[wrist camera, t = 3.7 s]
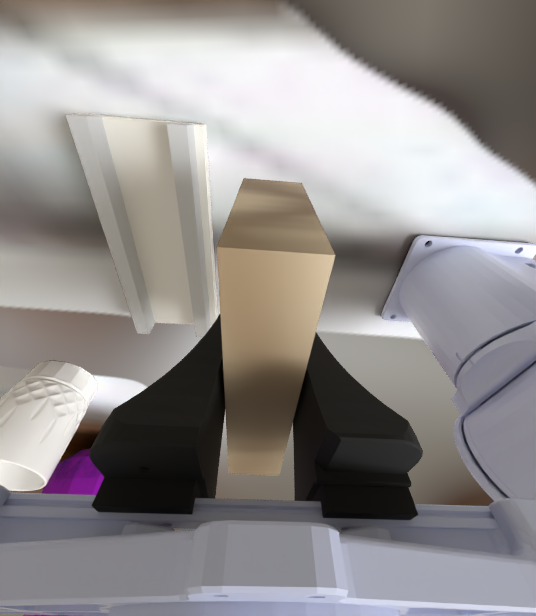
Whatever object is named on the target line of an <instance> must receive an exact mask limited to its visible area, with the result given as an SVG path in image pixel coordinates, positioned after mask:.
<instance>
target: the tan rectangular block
mask: <svg viewBox="0 0 536 616" xmlns="http://www.w3.org/2000/svg"><path fill="white" fill-rule="evenodd" d="M217 258H218V277H219V296H220V315H221V334H222V352H223V371H224V390H225V409H226V427H227V446H228V466H229V474H251V475H279V474H280V470H281V466H282V462H283V458H284V454H285V450H286V446H287V442H288V439H289V434H290V431H291V427H292V423H293V419H294V415H295V411H296V407H297V403H298V400H299V396H300V392H301V388H302V384H303V380H304V376H305V372H306V368H307V364H308V360H309V357H310V353H311V349H312V345H313V341H314V337H315V333H316V329H317V325H318V321H319V317H320V314H321V310H322V306H323V302H324V298H325V294H326V290H327V286H328V282H329V278H330V274H331V271H332V267H333V263H334V259H335V253H334V251H333V249H332V247H331V245H330V243H329V240H328V238H327V236H326V234H325V232H324V230H323V228H322V225H321V223H320V221H319V219H318V217H317V215H316V212H315V210H314V208H313V206H312V204H311V202H310V200H309V197H308V195H307V193H306V191H305V189H304V187H303V185H302V183H295V182H283V181H270V180H258V179H246V178H244V179H243V182H242V184H241V187H240V189H239V192H238V194H237V197H236V199H235V202H234V205H233V207H232V210H231V212H230V215H229V217H228V220H227V222H226V225H225V228H224V230H223V233H222V235H221V238H220V240H219V243H218V246H217Z"/></svg>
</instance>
